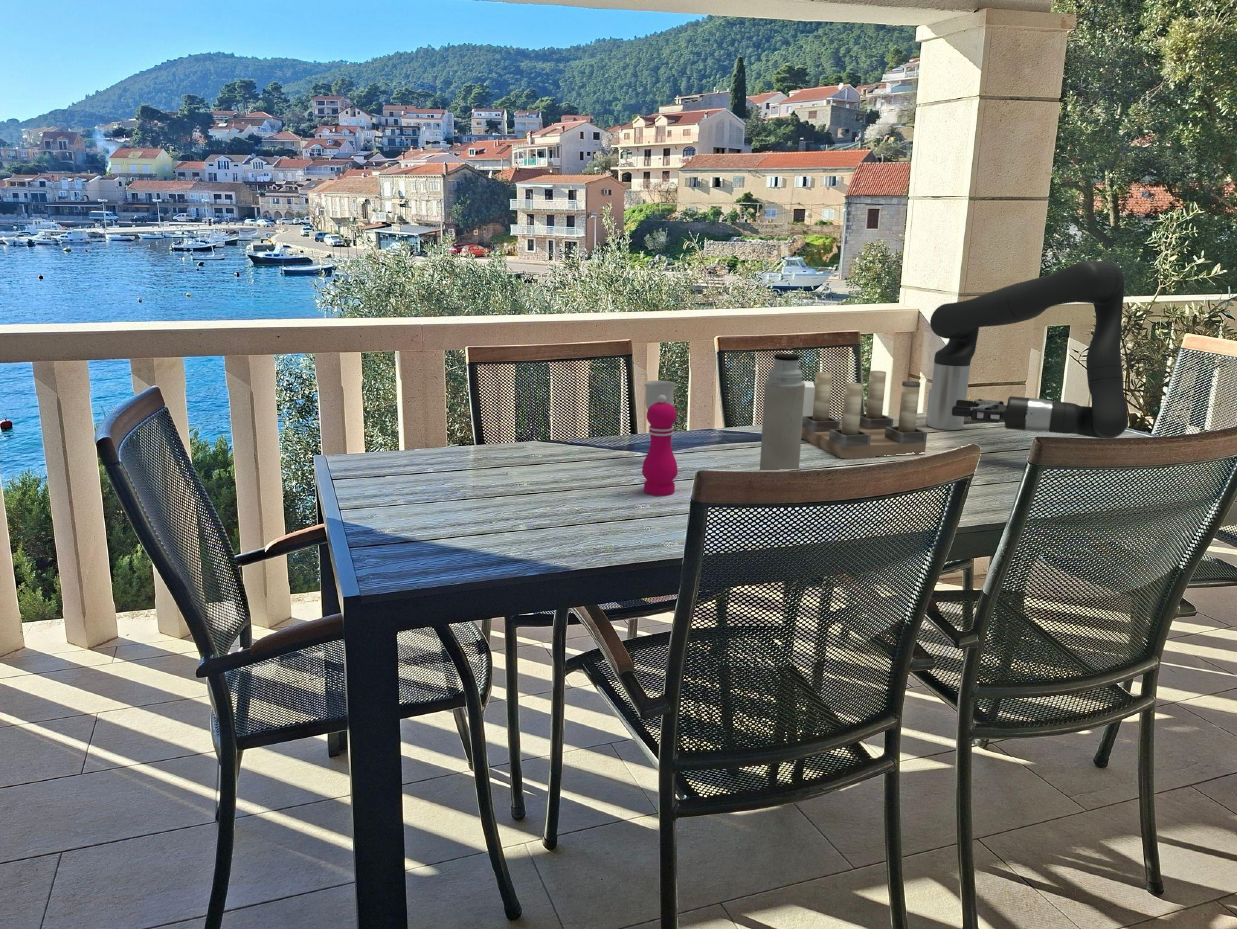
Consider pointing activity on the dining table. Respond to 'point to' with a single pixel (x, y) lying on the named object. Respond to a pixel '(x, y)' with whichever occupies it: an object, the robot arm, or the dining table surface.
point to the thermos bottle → (782, 415)
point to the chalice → (659, 391)
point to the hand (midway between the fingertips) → (954, 407)
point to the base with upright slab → (808, 398)
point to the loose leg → (908, 406)
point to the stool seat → (857, 422)
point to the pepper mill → (660, 450)
